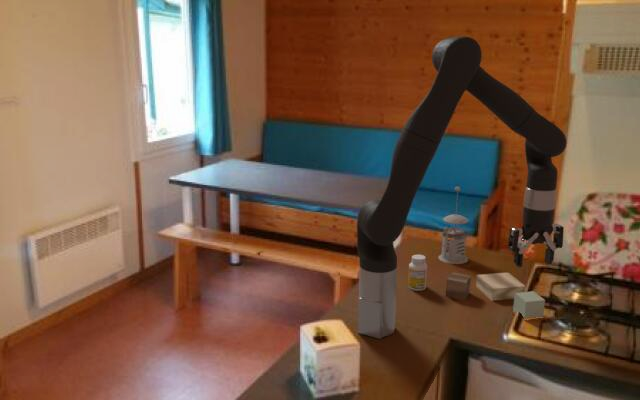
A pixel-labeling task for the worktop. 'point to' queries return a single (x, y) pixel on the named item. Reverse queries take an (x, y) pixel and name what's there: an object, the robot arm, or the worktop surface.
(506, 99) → the robot arm
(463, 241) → the french press
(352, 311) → the worktop surface
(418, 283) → the supplement bottle
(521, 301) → the green cube
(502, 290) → the pine block
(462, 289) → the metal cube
